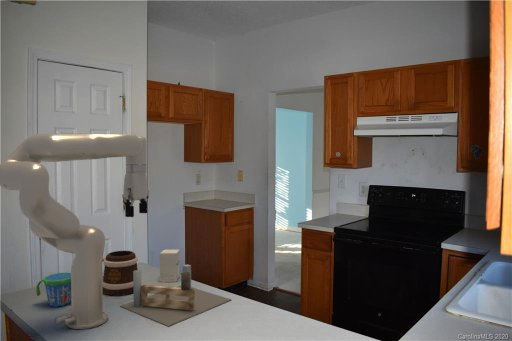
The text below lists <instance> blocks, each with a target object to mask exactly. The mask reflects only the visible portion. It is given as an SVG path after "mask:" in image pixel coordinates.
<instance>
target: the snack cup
mask: <svg viewBox="0 0 512 341" xmlns="http://www.w3.org/2000/svg"><path fill="white" fill-rule="evenodd" d="M42 282H43V284H44V287H45V292H46V297H47V303H48V305H49V306H50V307H54V308H55V307H57V308H58V307H63V306H66V305H68V304H70V303H71V272H68V271H67V272H55V273H51V274H49V275H48V274H47V275H46V276H44V277H43V278H42V279H40V280H39V281H38V282H37V283H36V284H37V285H36V290H35V291H36V292H35V293H36V294H35V295H36V296H37V297H39V296H40V295H41V290H40V285H41V283H42Z"/></svg>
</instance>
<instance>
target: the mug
mask: <svg viewBox="0 0 512 341" xmlns="http://www.w3.org/2000/svg"><path fill="white" fill-rule="evenodd" d="M102 263H103V265H104V268H103V274H102V285H103V294H105V295H108V296H126V295H130V294H134V284H133V271H135V270H139V268H138V257H137V256H136V253H135V252H134V251H131V250H116V251H115V250H114V251H110V252H109V253H108V254H106V255H105V256H104V255H103V260H102Z"/></svg>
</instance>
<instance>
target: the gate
mask: <svg viewBox="0 0 512 341" xmlns="http://www.w3.org/2000/svg"><path fill="white" fill-rule="evenodd" d="M180 274H181V275H180V276H181V277H180V286H181V288H178V286H176V287H175V286H166V285H165V286H163V285H153V284H152V285H151V284H142V286H141V305H143V306H153V307H163V308H174V309H184V310H194V309H195V289H190V272H183V271H182V272H181V273H180ZM148 294H151V295H154V294H162V295H166V299H157V298H148ZM170 295H173V296H184V297H188V301H179V300H170Z"/></svg>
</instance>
